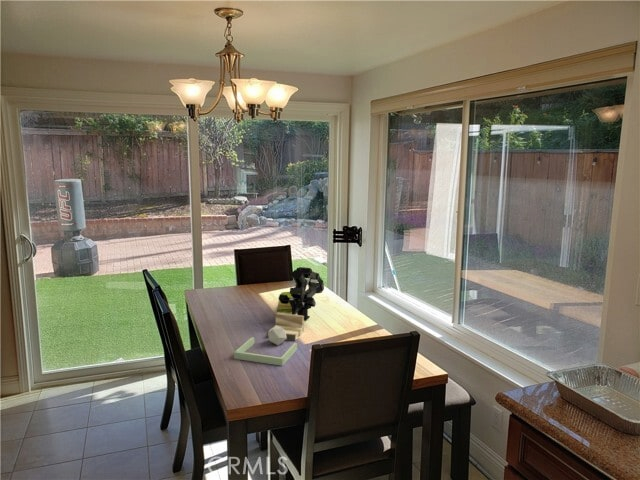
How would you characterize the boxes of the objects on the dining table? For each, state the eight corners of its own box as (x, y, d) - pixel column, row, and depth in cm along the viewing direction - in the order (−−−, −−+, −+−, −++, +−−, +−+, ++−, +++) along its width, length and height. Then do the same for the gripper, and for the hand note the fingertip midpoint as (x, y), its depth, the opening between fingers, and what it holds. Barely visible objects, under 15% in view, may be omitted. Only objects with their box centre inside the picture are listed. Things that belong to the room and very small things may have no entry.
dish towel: (276, 313, 264) (276, 307, 263) (280, 294, 299) (280, 289, 298) (304, 313, 264) (304, 307, 264) (305, 294, 299) (305, 289, 299)
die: (290, 345, 221) (288, 325, 225) (281, 342, 213) (279, 321, 218) (275, 348, 223) (273, 329, 228) (265, 345, 216) (264, 325, 221)
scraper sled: (277, 328, 240) (277, 312, 238) (303, 331, 236) (303, 315, 234) (267, 337, 228) (267, 321, 226) (294, 341, 224) (294, 324, 222)
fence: (251, 343, 221) (251, 337, 220) (297, 349, 214) (297, 343, 214) (234, 358, 204) (233, 352, 204) (282, 365, 198) (282, 358, 197)
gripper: (279, 279, 244) (271, 306, 236) (313, 282, 239) (306, 310, 231) (285, 289, 253) (277, 316, 245) (318, 292, 248) (311, 320, 240)
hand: (293, 315), depth 240 cm, fingers closed
